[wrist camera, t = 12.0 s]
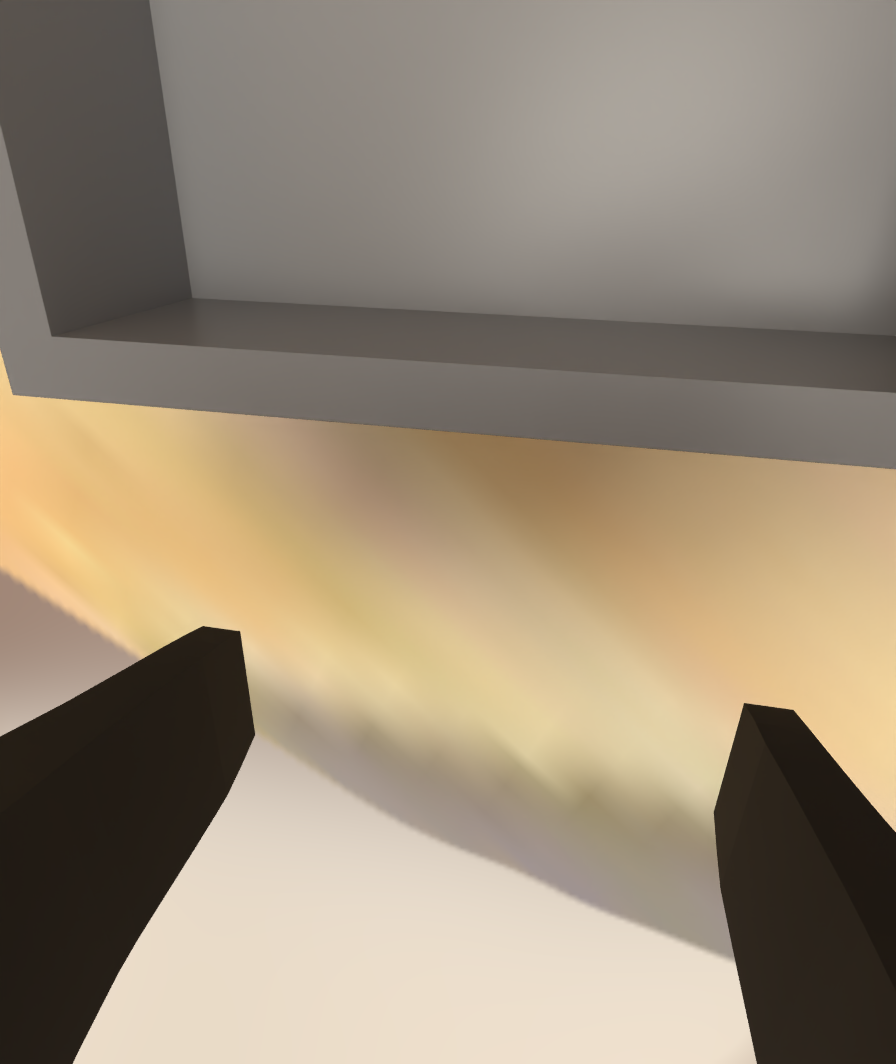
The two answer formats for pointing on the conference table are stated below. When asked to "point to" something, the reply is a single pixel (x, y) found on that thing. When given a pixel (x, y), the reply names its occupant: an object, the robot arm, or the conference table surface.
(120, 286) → the open box
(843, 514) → the conference table surface
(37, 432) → the conference table surface
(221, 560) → the conference table surface
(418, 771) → the conference table surface
